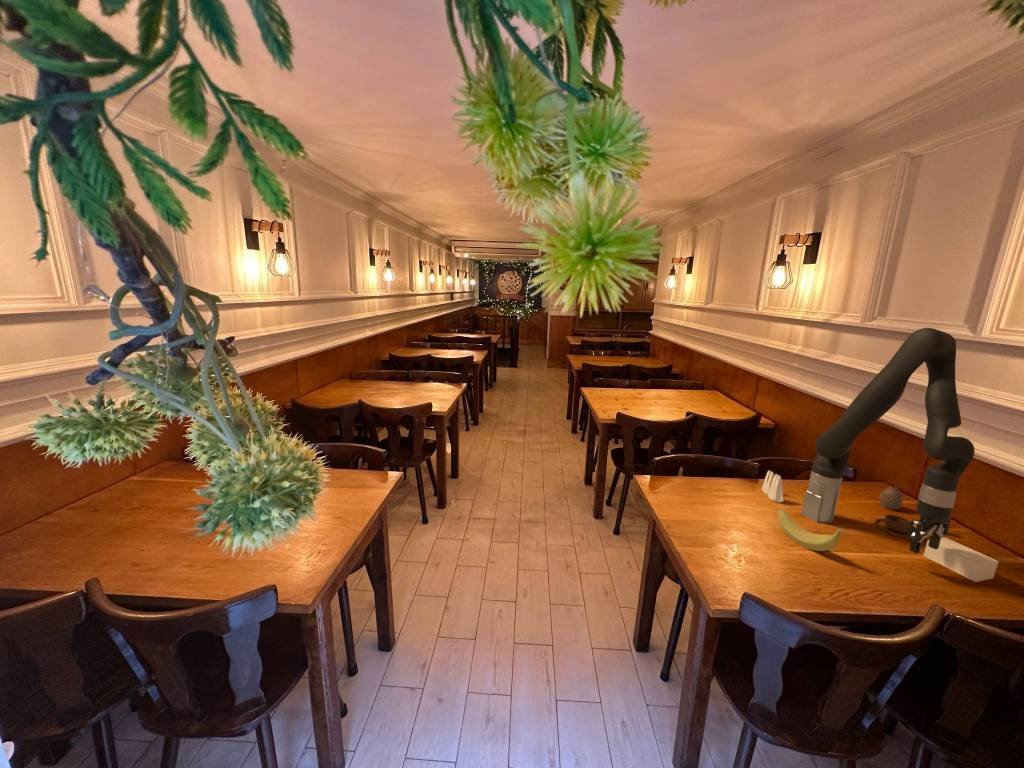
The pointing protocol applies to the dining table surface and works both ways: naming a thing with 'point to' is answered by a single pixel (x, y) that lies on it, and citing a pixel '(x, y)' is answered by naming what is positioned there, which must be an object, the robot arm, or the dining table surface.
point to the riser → (962, 560)
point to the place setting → (895, 524)
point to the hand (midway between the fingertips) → (923, 549)
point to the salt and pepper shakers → (773, 487)
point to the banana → (807, 534)
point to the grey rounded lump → (891, 498)
